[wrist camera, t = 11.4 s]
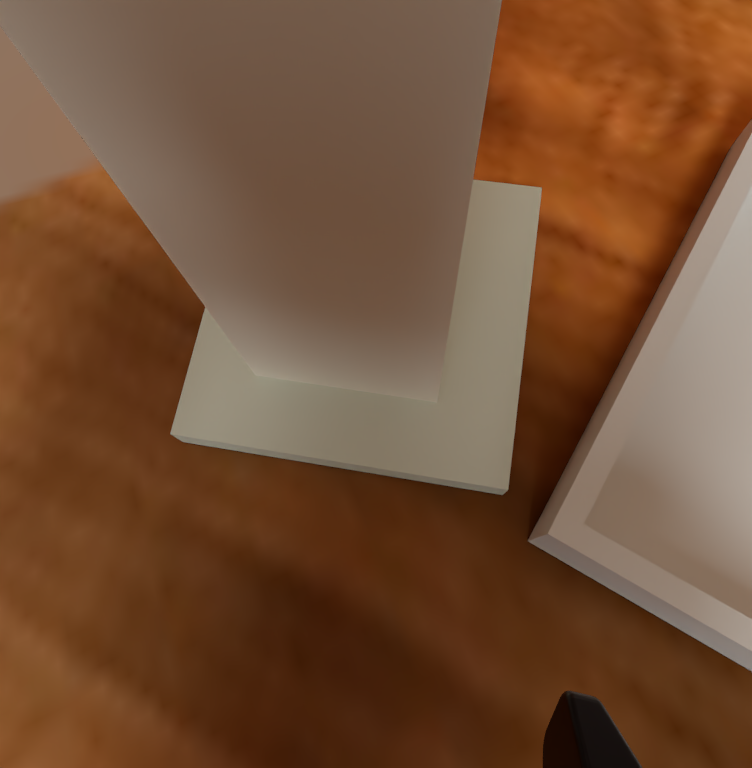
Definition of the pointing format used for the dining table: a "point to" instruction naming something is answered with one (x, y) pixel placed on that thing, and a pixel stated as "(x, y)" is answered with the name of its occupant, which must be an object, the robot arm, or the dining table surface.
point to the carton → (288, 162)
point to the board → (384, 412)
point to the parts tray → (677, 440)
